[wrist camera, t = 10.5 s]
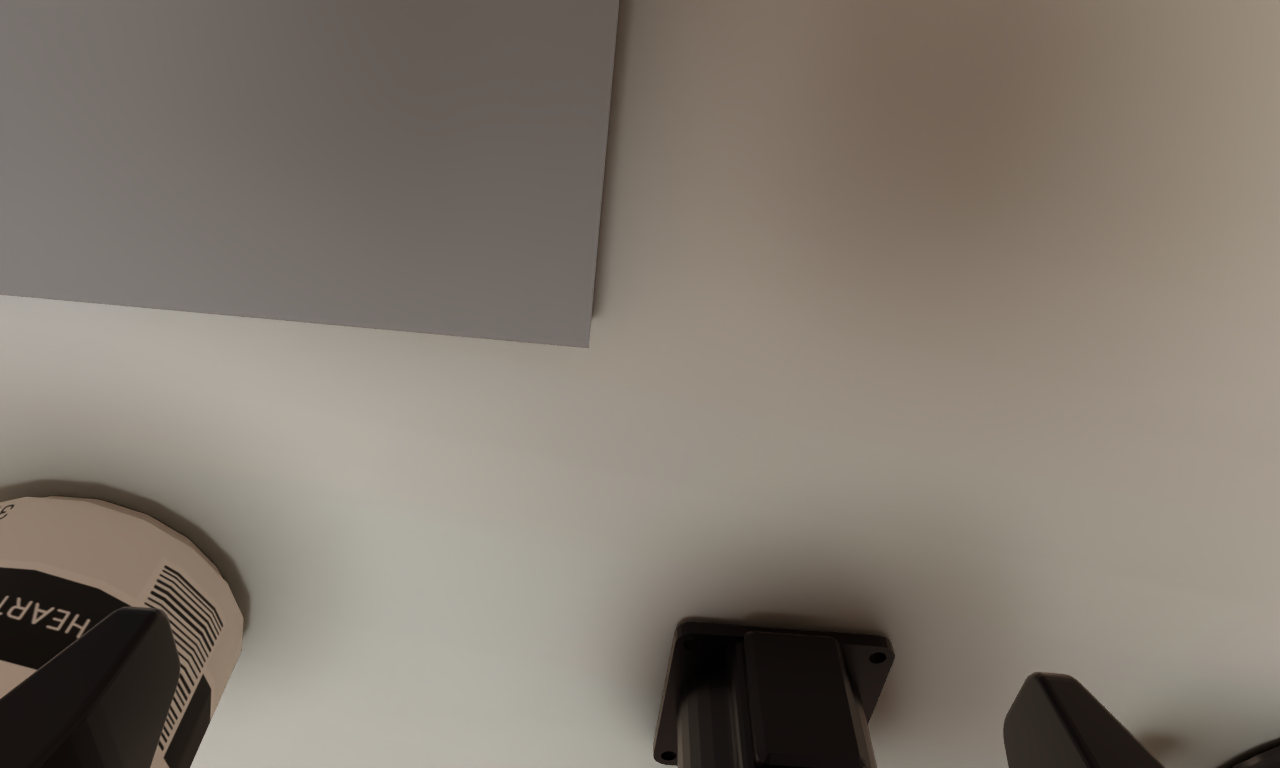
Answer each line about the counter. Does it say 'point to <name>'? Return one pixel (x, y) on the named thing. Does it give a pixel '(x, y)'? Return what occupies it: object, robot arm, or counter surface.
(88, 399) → the counter surface
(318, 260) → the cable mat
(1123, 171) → the counter surface
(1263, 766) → the milk frother
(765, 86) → the counter surface
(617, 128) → the counter surface
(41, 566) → the supplement can
